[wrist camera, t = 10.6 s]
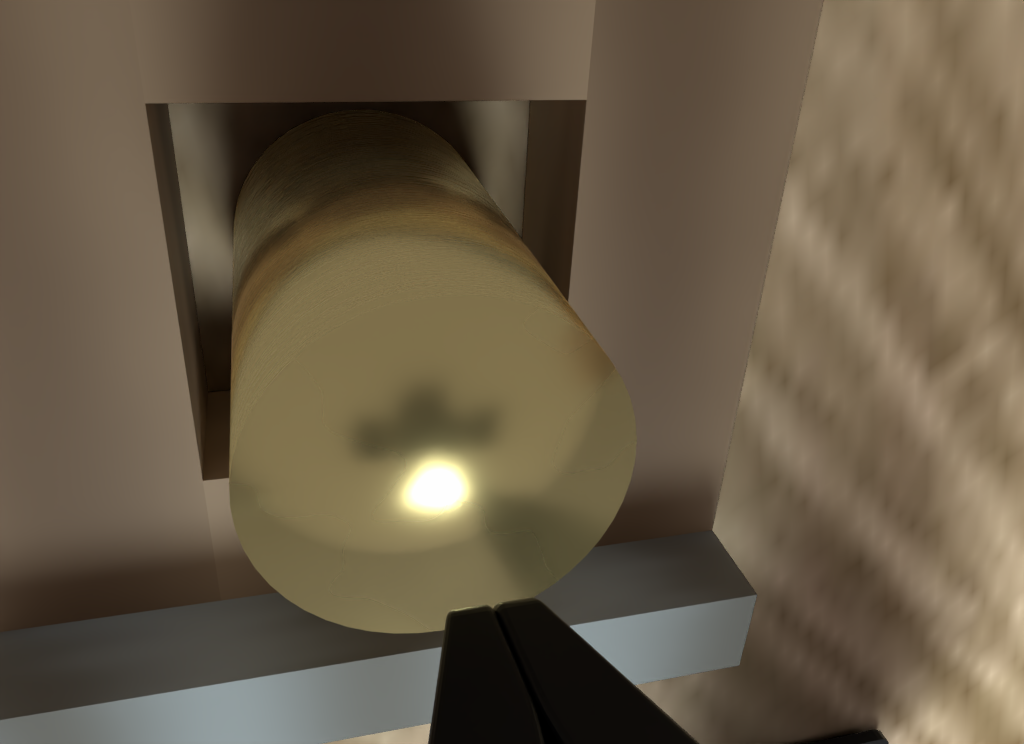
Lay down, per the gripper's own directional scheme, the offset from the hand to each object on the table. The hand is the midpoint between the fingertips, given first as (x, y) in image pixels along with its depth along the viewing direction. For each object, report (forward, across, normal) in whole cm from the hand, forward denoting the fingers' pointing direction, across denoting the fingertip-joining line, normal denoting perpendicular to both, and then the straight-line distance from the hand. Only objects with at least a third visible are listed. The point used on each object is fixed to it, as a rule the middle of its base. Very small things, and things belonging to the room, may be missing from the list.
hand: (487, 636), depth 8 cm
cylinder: (+11, 0, 0) cm, 11 cm away
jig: (+10, 0, 0) cm, 11 cm away
